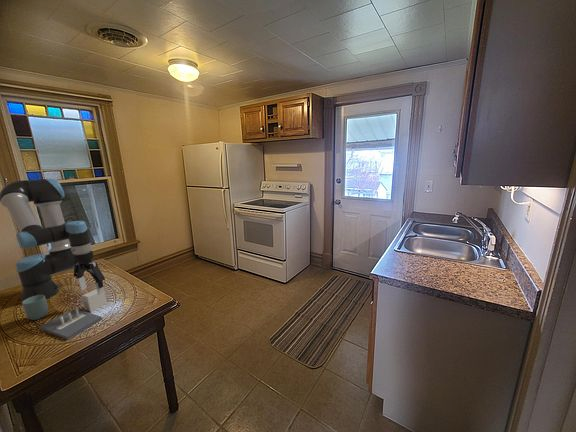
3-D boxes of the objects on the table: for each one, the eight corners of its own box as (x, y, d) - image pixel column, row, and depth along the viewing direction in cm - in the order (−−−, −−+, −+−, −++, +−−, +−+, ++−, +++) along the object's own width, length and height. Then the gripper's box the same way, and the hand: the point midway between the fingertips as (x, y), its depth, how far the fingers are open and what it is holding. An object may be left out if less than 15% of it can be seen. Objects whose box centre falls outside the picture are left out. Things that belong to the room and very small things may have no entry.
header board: (40, 329, 110) (36, 318, 108) (75, 311, 122) (72, 300, 121) (67, 339, 103) (64, 327, 101) (102, 319, 116) (99, 308, 114)
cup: (53, 313, 121) (48, 296, 118) (33, 323, 114) (27, 305, 111) (44, 310, 123) (38, 293, 121) (23, 320, 116) (17, 302, 114)
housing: (84, 310, 123) (80, 296, 121) (100, 301, 130) (97, 288, 128) (90, 312, 121) (87, 297, 119) (107, 303, 129) (104, 289, 127)
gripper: (58, 252, 119) (68, 291, 124) (91, 258, 111) (101, 299, 116) (75, 247, 126) (84, 283, 131) (107, 252, 117) (116, 291, 122)
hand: (92, 291), depth 123 cm, fingers open, 13 cm apart
